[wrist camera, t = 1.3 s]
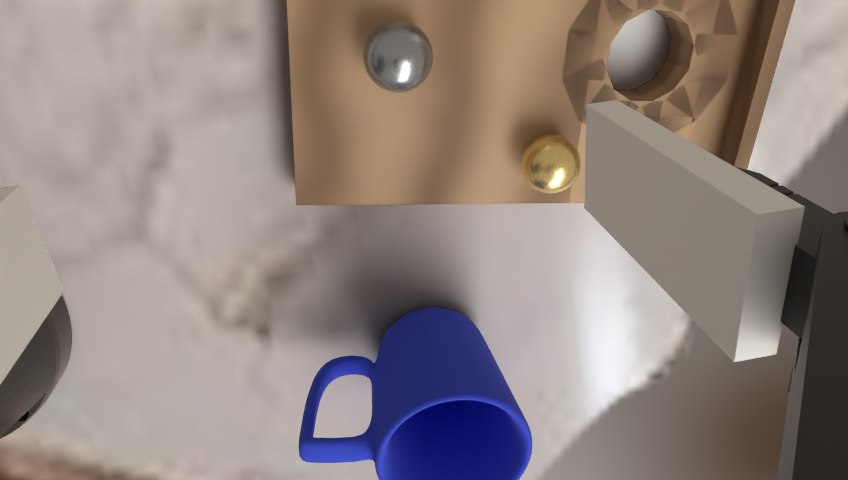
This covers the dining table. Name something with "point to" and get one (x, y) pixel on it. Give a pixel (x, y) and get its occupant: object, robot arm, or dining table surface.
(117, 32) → the dining table surface
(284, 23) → the dining table surface
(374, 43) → the steel ball
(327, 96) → the deck
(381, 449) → the mug
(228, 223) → the dining table surface
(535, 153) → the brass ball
